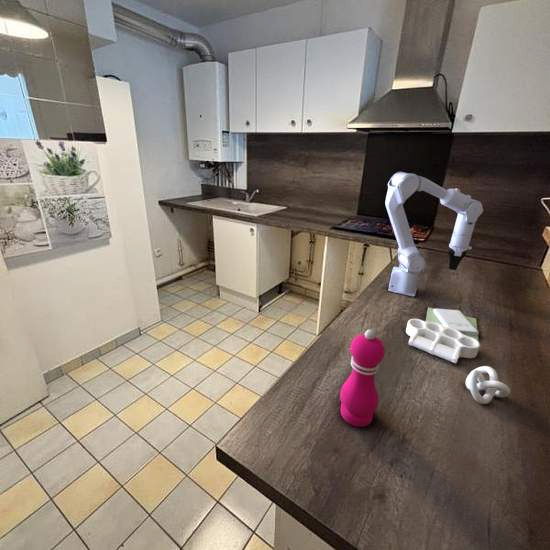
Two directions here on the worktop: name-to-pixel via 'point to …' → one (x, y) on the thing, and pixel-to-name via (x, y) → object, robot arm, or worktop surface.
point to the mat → (433, 318)
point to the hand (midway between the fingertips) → (452, 269)
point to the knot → (486, 385)
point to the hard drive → (455, 321)
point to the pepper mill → (362, 380)
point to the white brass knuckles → (441, 340)
